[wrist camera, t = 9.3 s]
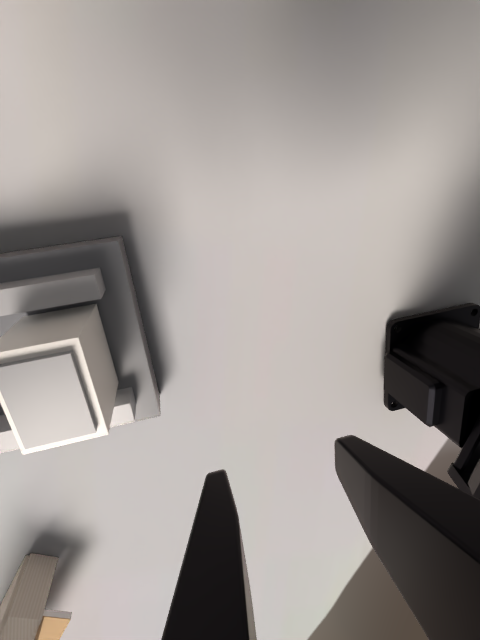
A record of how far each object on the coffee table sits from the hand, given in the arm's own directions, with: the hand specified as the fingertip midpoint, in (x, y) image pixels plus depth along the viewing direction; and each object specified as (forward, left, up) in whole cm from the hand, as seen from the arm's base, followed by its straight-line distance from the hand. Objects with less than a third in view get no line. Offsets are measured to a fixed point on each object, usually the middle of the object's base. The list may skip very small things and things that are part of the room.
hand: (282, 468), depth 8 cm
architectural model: (+14, +16, -13) cm, 25 cm away
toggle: (+6, 0, -10) cm, 12 cm away
